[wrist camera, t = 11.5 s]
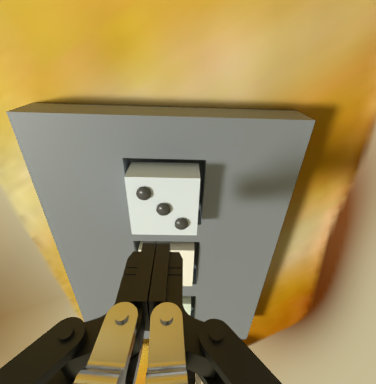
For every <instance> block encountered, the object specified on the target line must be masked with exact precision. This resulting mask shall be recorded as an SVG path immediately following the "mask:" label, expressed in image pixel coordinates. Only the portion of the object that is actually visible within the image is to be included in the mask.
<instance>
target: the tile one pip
mask: <svg viewBox="0 0 376 384" xmlns="http://www.w3.org/2000/svg"><path fill="white" fill-rule="evenodd" d="M143 242H170V251H171V252H179V253H180V254H181V256H182V258H183V286H192V282H193V266H194V242H172V241H140V244H139V248H138V252H141V249H142V245H143Z"/></svg>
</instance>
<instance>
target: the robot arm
mask: <svg viewBox="0 0 376 384" xmlns="http://www.w3.org/2000/svg"><path fill="white" fill-rule="evenodd" d="M182 299H183V258H182V256H181V254H180V253H179V252H171V251H170V242H143V245H142V249H141V252H138V251H133V252H132V254H131V255H130V256H129V257H128V259H127V262H126V266H125V269H124V273H123V276H122V280H121V283H120V287H119V290H118V294H117V298H116V301H115V304H114V306H113V307H111V308H110V309H109V311H108V312H107V313H106V314H105V315H103V316H101V317H99V318H96V319H93V320H90V321H87V322H83V321H82V320H81V319H80V318H77V317H70V318H66V319H64V320H62V321H60V322H59V323H58V324H56V325H55V326H54V327H52V328H51V329H50V330H49V331H47V333H45V334H44V335H42V336H41V337H40V338H38V339H37V340H36V341H35V342H33V343H32V344H31V345H30V346H28V347H27V348H26V349H25V350H23V351H22V352H21V353H20V354H18V355H17V356H16V357H14V358H13V359H12V360H11V361H9V362H8V363H7V364H6V365H4V366H3V367H2V368H1V369H0V384H135V381H136V377H137V372H138V367H139V363H140V358H141V353H142V348H143V346H142V345H143V339H144V332H145V331H150V335H149V354H148V369H147V373H146V382H145V384H188V378H187V369H188V370H190V371H192V372H195V373H197V374H198V376H199V378H200V379H201V381H202V382H203V383H204V384H281V382H280V381H279V380H278V379H277V378H276V377H275V376H274V375H273V374H272V373H271V371H270V370H269V369H268V368H267V367H266V366H265V365H264V364H263V363H262V362H261V361H260V360H259V358H258V357H257V356H256V355H255V354H254V353H253V352H252V351H251V350H250V349H249V348H248V346H247V345H246V344H245V343H244V342H243V341H242V340H241V339H240V338H239V337H238V336H237V335H236V333H235V332H234V331H233V330H232V329H231V328H230V327H229V326H228V325H227V324H226V323H225V322H223V321H222V320H219V319H209V320H206V321H205V322H203V321H201V320H198V319H195V318H193V317H191V316H190V315H189V314H188V313H187V312H186V311H185V309H184V307H183V301H182Z"/></svg>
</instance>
